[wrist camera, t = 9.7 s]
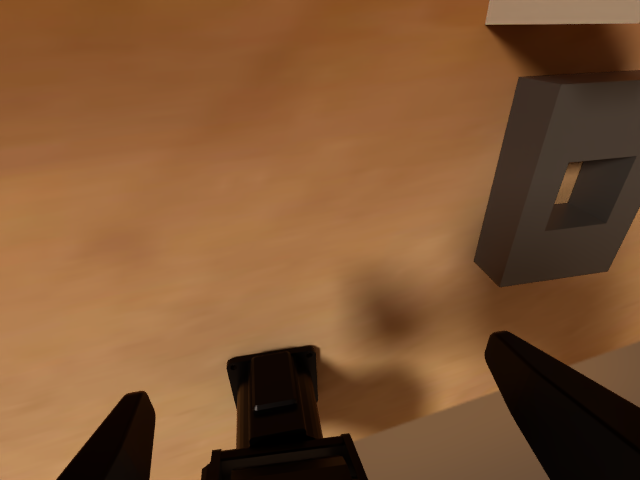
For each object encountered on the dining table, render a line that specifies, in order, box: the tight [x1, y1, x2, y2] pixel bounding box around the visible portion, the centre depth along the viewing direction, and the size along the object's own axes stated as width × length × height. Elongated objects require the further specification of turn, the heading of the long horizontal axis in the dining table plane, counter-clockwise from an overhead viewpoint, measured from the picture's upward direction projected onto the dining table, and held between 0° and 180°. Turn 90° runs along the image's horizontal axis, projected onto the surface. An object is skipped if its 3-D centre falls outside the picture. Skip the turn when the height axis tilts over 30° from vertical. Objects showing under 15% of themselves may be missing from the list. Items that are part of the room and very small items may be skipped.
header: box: [474, 70, 640, 287], centre depth 21 cm, size 12×8×3 cm, turn 2°
